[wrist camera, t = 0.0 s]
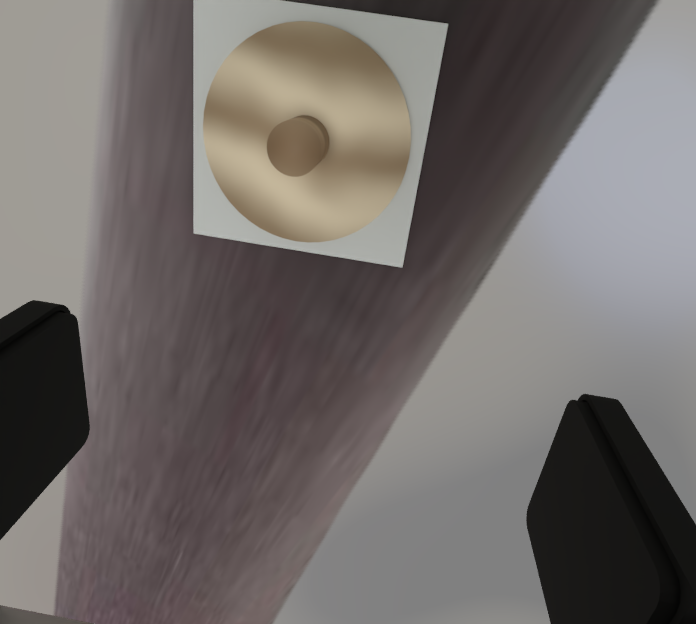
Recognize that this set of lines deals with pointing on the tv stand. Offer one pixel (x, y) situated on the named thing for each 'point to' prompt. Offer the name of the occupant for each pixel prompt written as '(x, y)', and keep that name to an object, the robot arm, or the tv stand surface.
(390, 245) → the mat
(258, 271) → the tv stand surface
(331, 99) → the lid
